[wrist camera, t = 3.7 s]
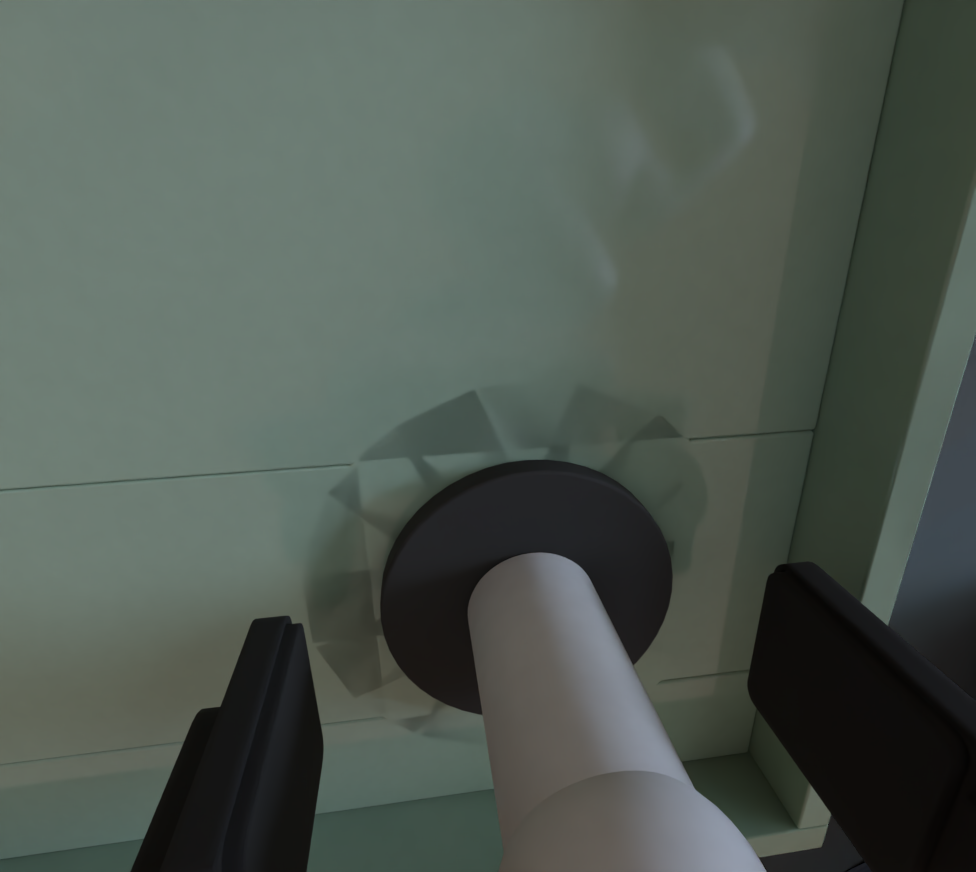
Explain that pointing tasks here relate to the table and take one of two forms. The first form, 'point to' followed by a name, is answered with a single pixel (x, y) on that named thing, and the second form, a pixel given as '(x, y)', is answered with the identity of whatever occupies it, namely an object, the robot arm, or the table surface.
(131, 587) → the basin
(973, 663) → the table surface
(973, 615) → the table surface
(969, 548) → the table surface
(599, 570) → the stopper
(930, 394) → the basin rim
